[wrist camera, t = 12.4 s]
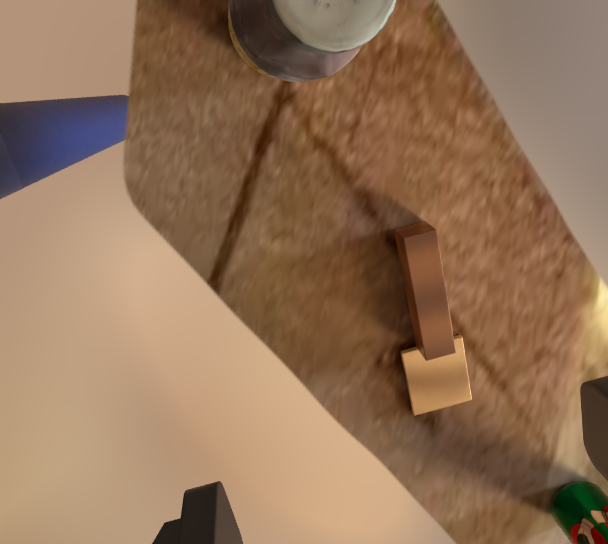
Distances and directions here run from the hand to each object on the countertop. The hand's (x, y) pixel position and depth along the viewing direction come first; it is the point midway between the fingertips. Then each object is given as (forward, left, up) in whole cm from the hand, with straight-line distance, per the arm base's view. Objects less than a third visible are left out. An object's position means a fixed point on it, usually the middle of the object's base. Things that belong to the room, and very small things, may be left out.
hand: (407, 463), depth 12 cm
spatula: (+8, -12, -28) cm, 32 cm away
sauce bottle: (+2, +11, -28) cm, 30 cm away
